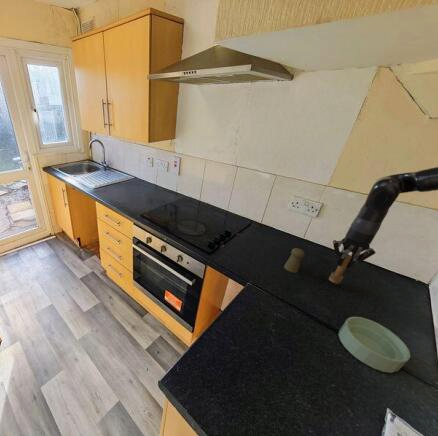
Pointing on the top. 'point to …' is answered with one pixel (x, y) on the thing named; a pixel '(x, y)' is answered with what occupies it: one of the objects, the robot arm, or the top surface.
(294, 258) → the cork
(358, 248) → the robot arm
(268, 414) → the top surface
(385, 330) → the bowl
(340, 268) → the muddler
